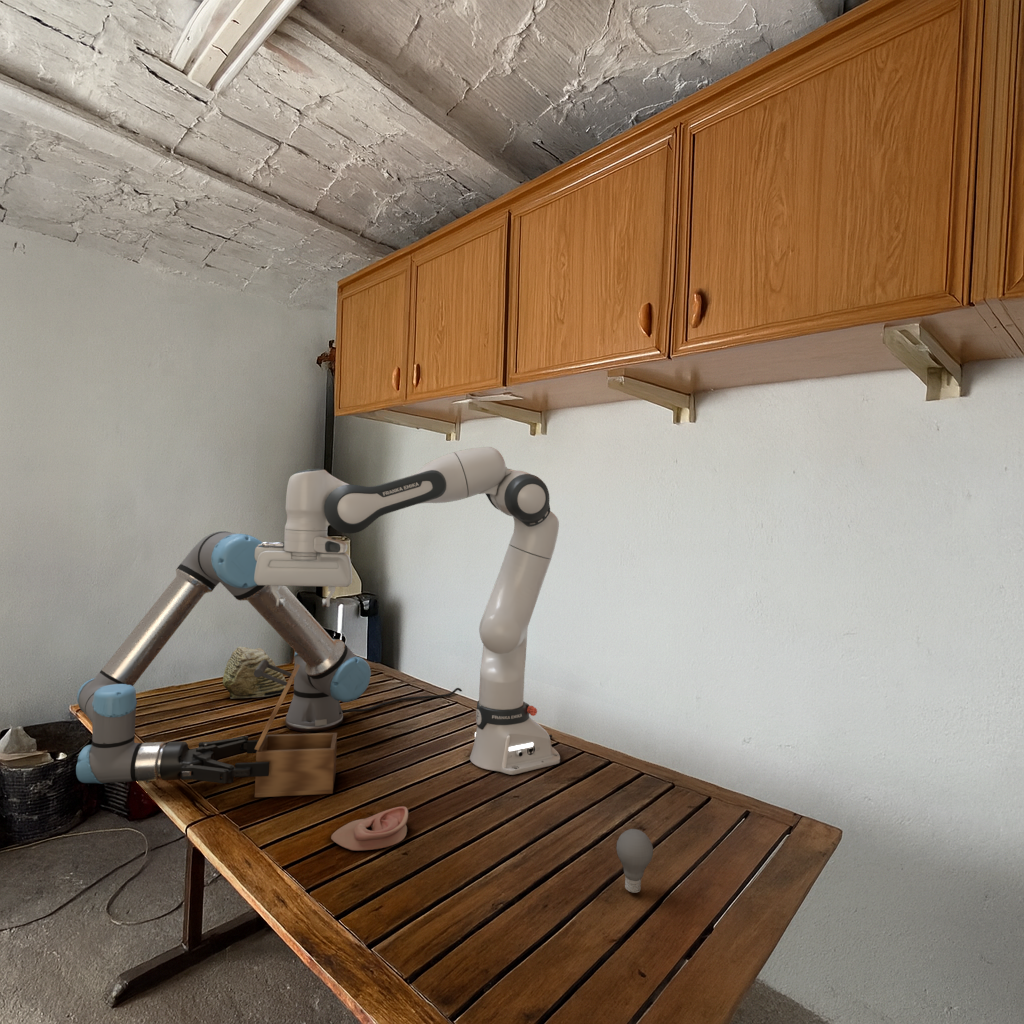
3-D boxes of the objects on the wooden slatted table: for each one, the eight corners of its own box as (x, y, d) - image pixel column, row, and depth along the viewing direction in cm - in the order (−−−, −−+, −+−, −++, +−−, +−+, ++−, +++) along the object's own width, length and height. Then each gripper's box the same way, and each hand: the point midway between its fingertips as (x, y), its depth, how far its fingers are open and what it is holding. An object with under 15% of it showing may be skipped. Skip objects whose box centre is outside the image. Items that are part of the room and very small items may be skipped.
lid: (300, 665, 143) (266, 651, 141) (294, 677, 133) (258, 662, 132) (266, 733, 142) (232, 720, 140) (258, 750, 132) (221, 736, 130)
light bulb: (610, 879, 108) (613, 822, 108) (644, 879, 109) (647, 822, 109) (619, 902, 102) (622, 840, 102) (655, 901, 103) (658, 840, 103)
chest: (335, 774, 145) (337, 732, 145) (332, 793, 135) (334, 749, 135) (262, 777, 142) (264, 734, 141) (254, 797, 132) (256, 752, 132)
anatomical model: (323, 824, 115) (352, 795, 126) (322, 845, 115) (351, 815, 126) (392, 835, 112) (415, 805, 123) (391, 857, 112) (414, 825, 123)
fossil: (218, 695, 195) (220, 647, 195) (278, 685, 208) (279, 640, 207) (228, 703, 189) (230, 653, 188) (289, 692, 201) (290, 645, 201)
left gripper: (180, 755, 145) (281, 752, 149) (142, 806, 121) (263, 799, 126) (182, 723, 144) (282, 720, 149) (144, 767, 121) (264, 762, 126)
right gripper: (252, 542, 132) (249, 608, 133) (352, 545, 136) (350, 609, 137) (257, 540, 138) (255, 603, 139) (353, 543, 143) (351, 604, 143)
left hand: (273, 756), depth 137 cm, fingers open, 12 cm apart
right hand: (303, 606), depth 138 cm, fingers open, 8 cm apart
